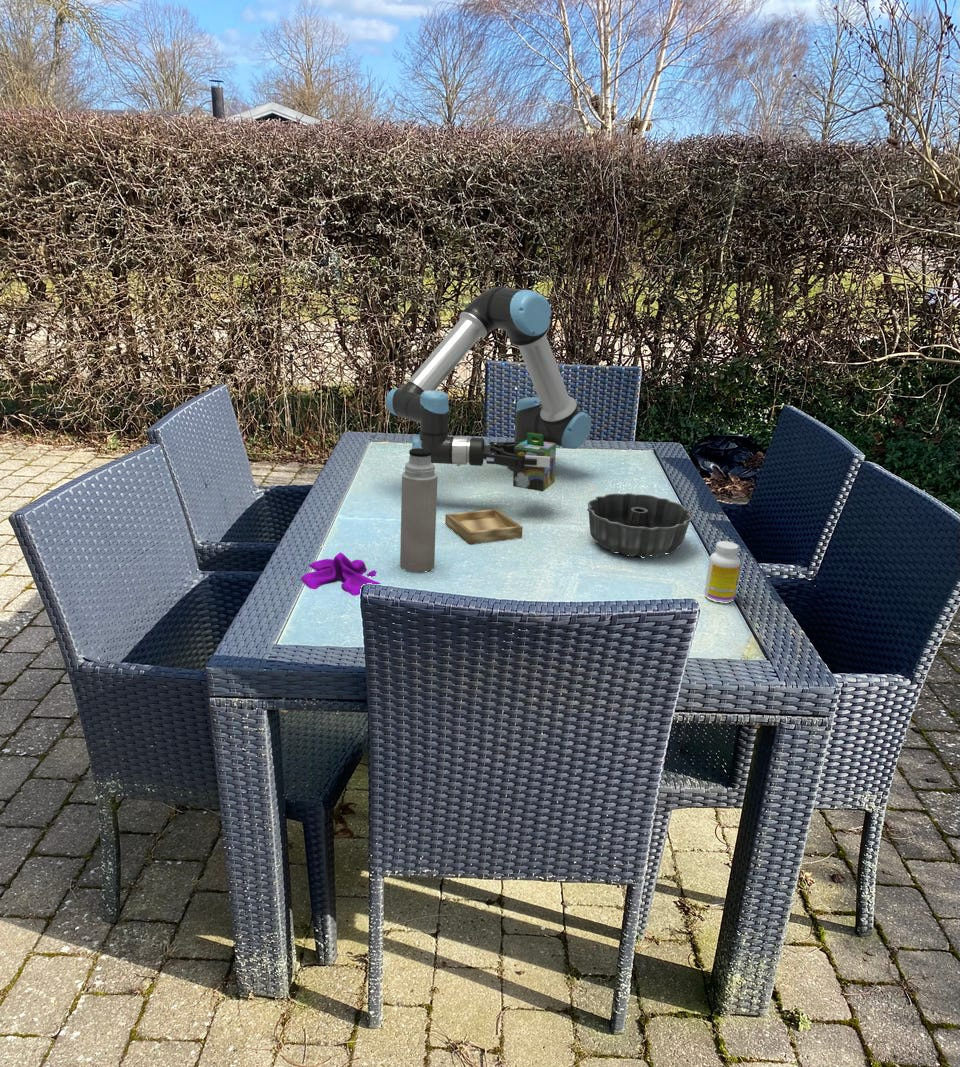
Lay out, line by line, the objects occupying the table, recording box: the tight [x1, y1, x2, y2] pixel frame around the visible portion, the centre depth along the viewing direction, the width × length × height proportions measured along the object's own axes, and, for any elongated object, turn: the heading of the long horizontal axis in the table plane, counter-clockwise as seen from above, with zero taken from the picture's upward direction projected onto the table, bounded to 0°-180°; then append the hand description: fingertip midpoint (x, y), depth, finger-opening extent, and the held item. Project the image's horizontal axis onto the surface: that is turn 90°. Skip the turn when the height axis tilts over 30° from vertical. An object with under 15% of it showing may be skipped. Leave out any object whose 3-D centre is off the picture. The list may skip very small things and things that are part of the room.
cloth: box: [301, 552, 381, 597], centre depth 201 cm, size 22×19×6 cm
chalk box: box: [512, 433, 557, 493], centre depth 242 cm, size 9×9×15 cm
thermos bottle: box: [399, 448, 438, 573], centre depth 203 cm, size 8×8×28 cm
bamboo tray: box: [444, 508, 524, 545], centre depth 232 cm, size 15×15×3 cm
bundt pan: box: [586, 492, 693, 558], centre depth 227 cm, size 26×26×10 cm
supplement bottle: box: [704, 540, 741, 602], centre depth 197 cm, size 7×7×13 cm
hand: (549, 455), depth 241 cm, fingers closed on chalk box, 11 cm apart
